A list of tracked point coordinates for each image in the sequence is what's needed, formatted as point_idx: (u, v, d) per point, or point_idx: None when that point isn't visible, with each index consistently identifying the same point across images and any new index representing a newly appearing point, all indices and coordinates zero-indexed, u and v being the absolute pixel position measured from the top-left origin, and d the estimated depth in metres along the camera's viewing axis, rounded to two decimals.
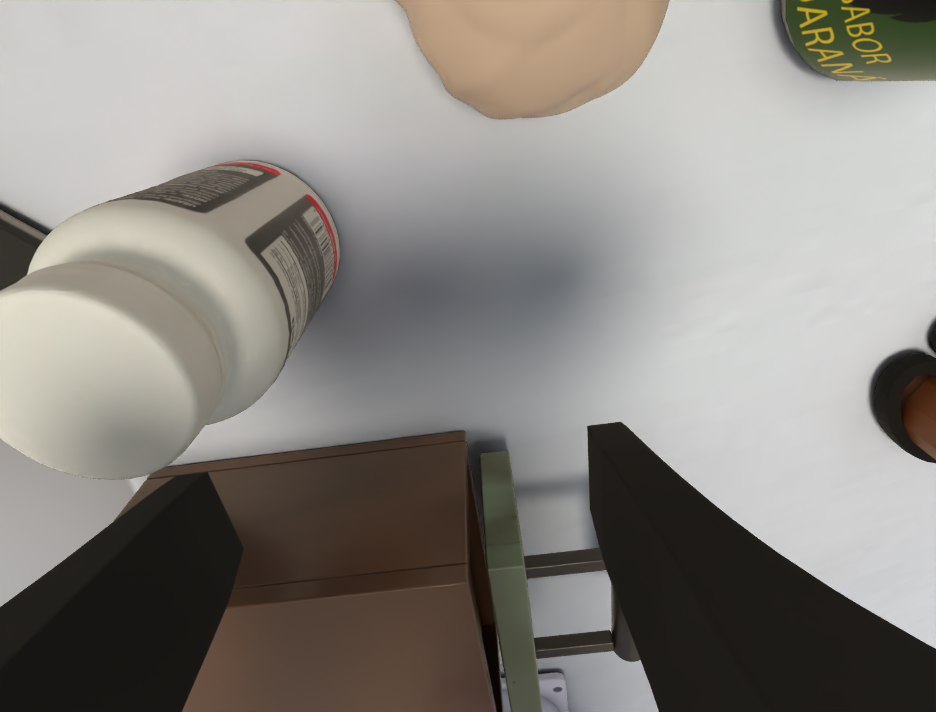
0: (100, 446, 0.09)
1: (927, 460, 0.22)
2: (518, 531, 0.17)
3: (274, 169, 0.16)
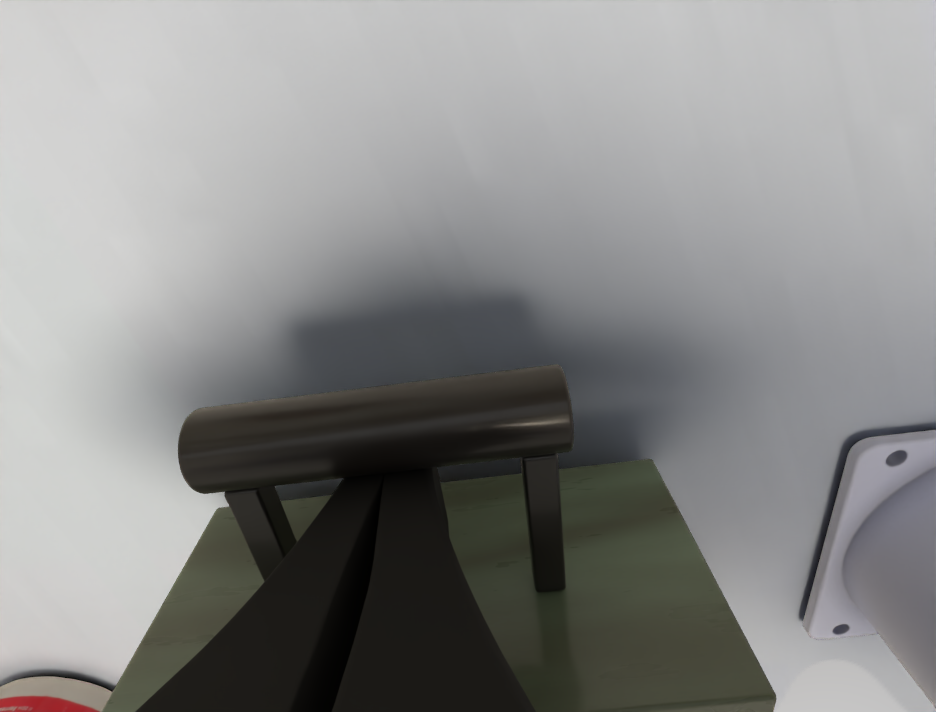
0: None
1: None
2: (121, 677, 0.10)
3: None
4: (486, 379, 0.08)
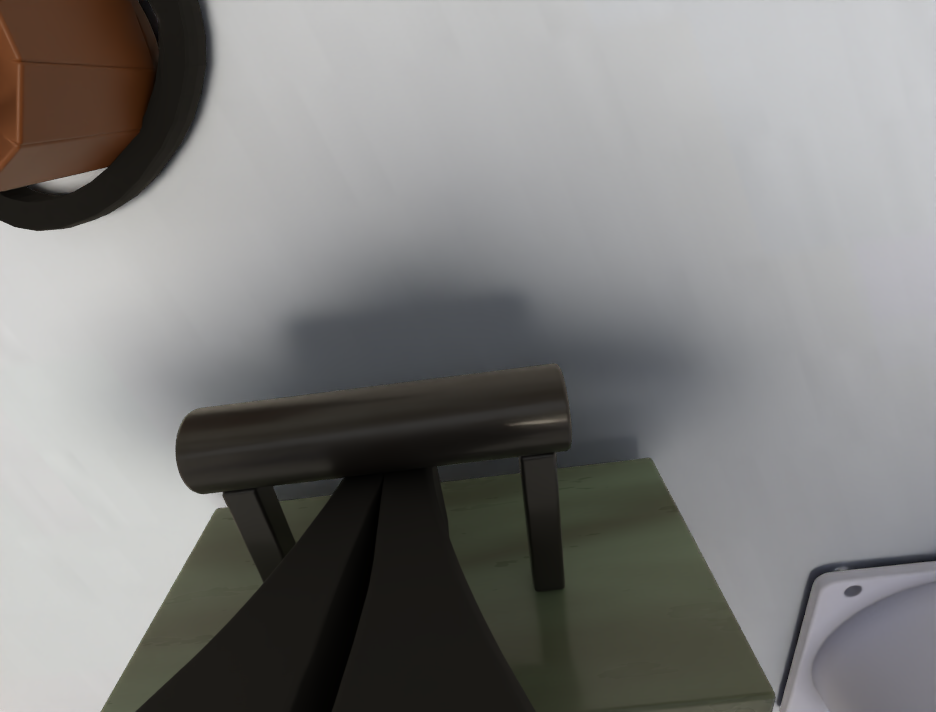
0: None
1: (188, 51, 0.09)
2: (120, 678, 0.09)
3: None
4: (484, 378, 0.08)
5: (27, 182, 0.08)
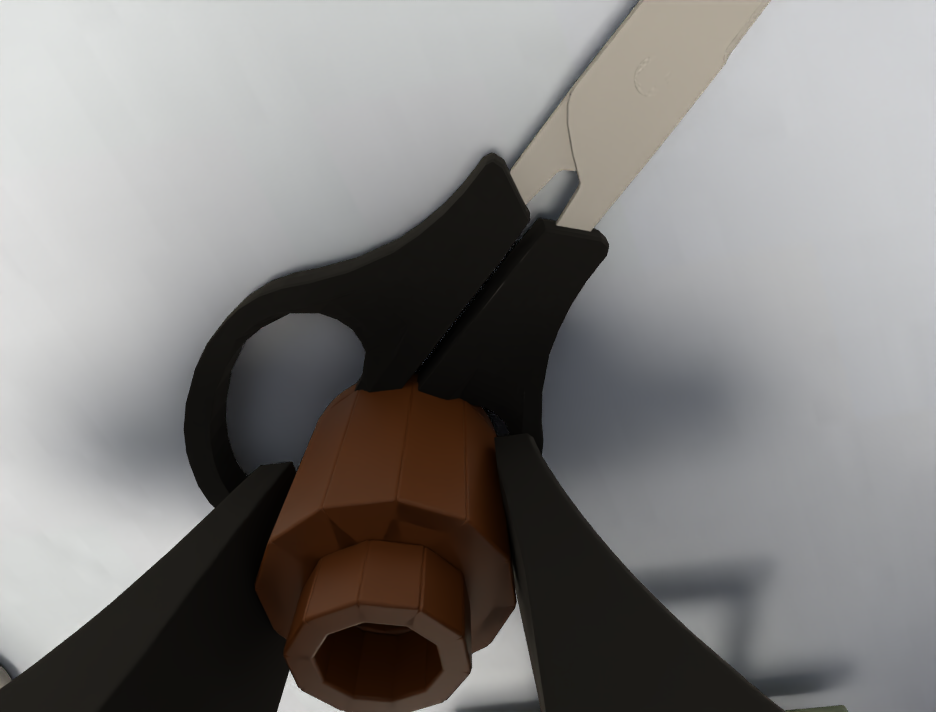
0: None
1: None
2: None
3: None
4: None
5: None
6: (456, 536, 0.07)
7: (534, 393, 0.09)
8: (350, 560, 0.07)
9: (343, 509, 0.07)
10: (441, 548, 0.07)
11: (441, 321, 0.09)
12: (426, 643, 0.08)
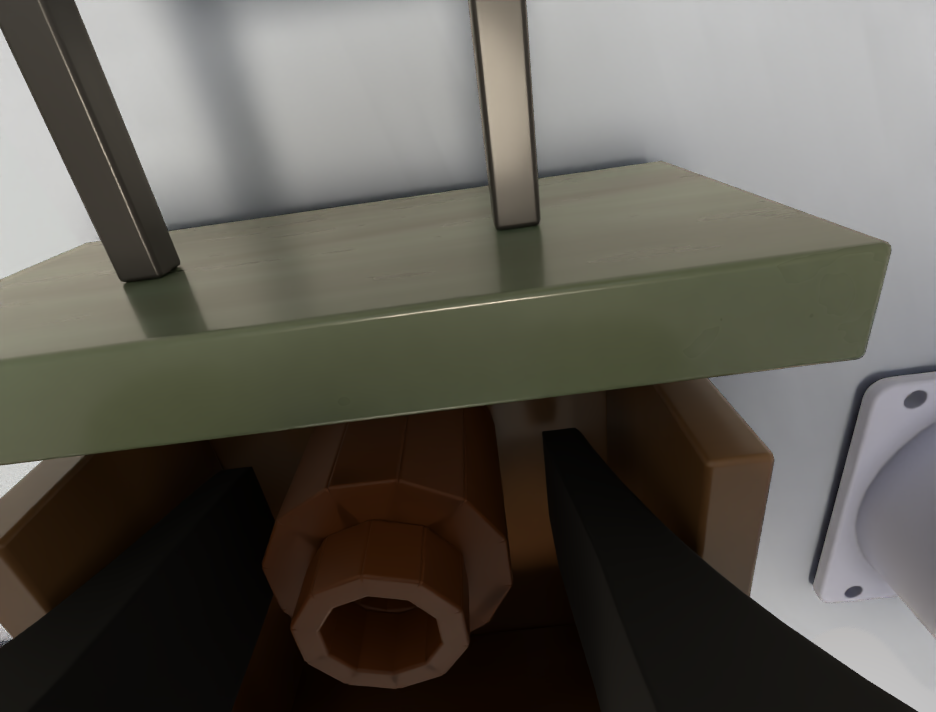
0: None
1: None
2: None
3: None
4: None
5: None
6: (455, 515, 0.07)
7: None
8: (353, 538, 0.07)
9: (347, 490, 0.07)
10: (440, 528, 0.08)
11: None
12: (426, 620, 0.08)
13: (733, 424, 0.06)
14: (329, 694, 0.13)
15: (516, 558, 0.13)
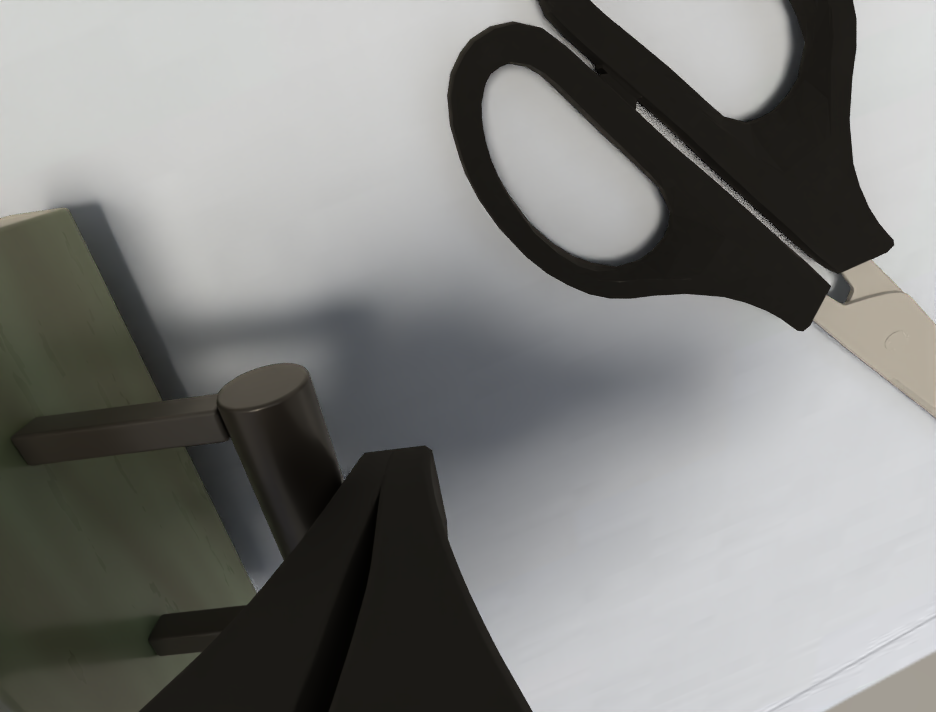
0: None
1: (596, 295, 0.11)
2: None
3: None
4: None
5: None
6: None
7: (689, 287, 0.11)
8: None
9: None
10: None
11: (776, 204, 0.10)
12: None
13: None
14: None
15: None
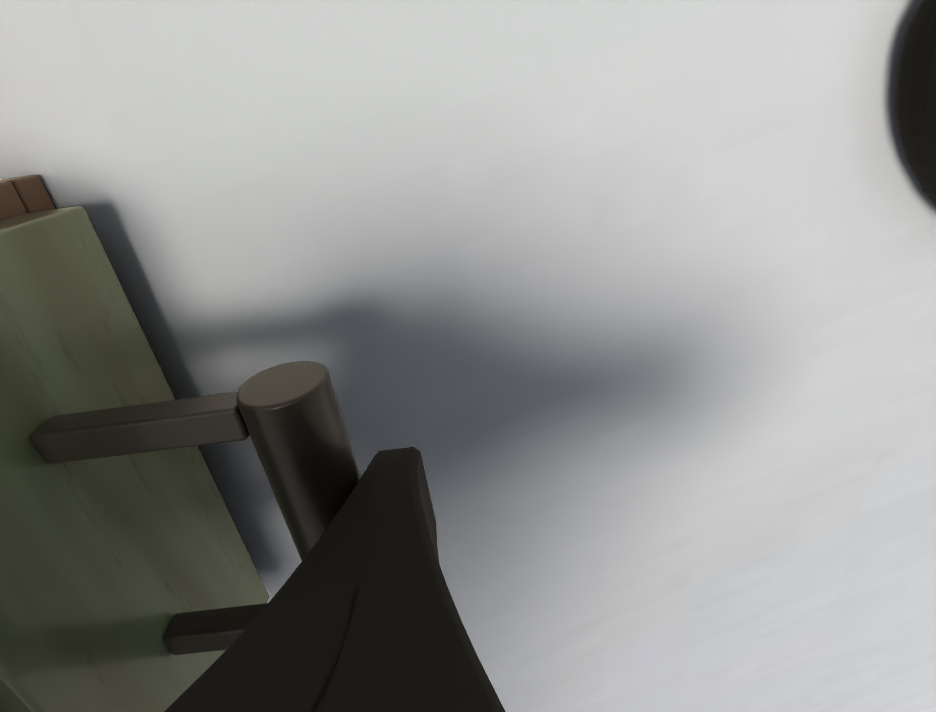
0: None
1: None
2: None
3: None
4: None
5: None
6: None
7: None
8: None
9: None
10: None
11: None
12: None
13: None
14: None
15: None
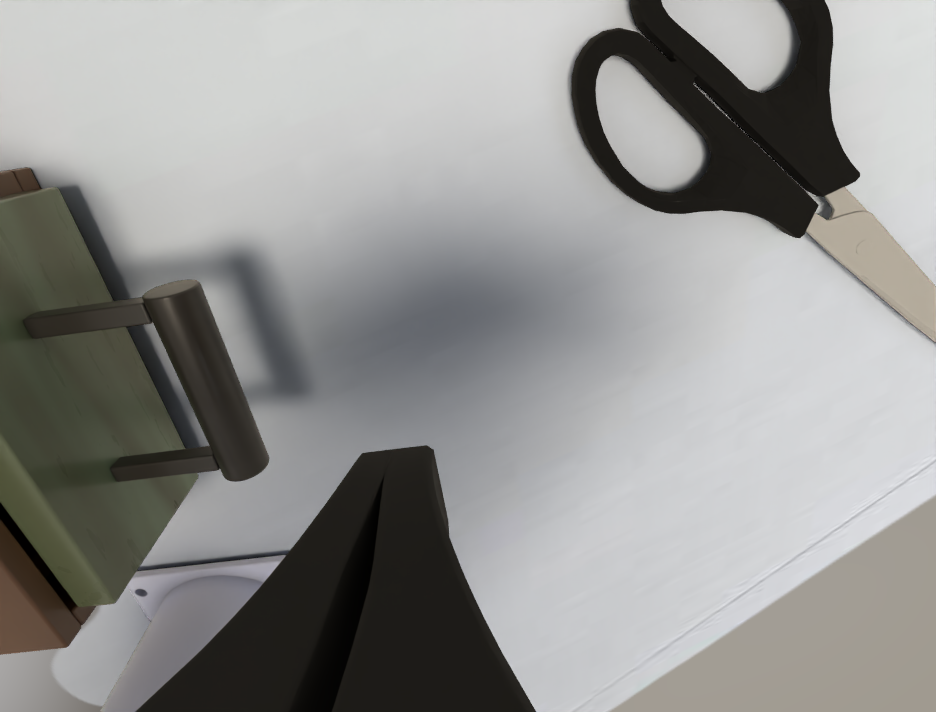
0: None
1: (660, 211, 0.16)
2: None
3: None
4: (256, 434, 0.16)
5: None
6: None
7: (723, 205, 0.16)
8: None
9: None
10: None
11: (782, 147, 0.15)
12: None
13: (43, 572, 0.16)
14: None
15: None
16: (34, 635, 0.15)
